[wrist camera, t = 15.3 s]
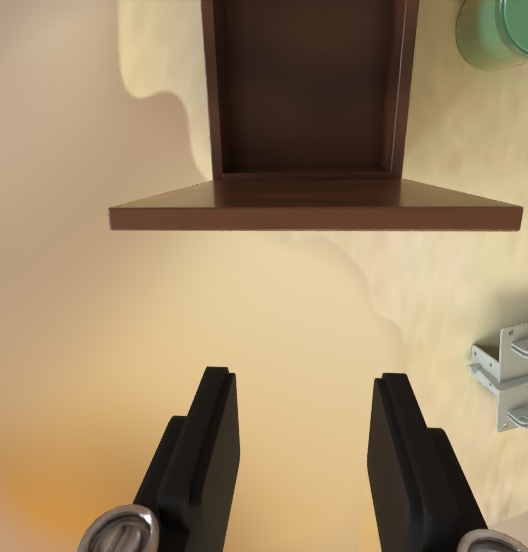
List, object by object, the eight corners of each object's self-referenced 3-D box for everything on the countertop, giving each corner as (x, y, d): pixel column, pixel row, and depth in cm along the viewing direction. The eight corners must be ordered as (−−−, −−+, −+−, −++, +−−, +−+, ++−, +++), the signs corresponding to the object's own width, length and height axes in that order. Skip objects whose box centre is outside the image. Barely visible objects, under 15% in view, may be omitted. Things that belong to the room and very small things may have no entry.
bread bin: (215, -43, 30) (195, -78, 24) (405, -55, 28) (428, -95, 23) (226, 174, 35) (212, 184, 30) (386, 172, 34) (401, 183, 29)
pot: (459, -26, 29) (513, -75, 21) (555, -31, 28) (645, -83, 21) (446, 75, 31) (491, 62, 24) (535, 72, 30) (608, 57, 23)
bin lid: (106, 207, 14) (109, 231, 14) (524, 206, 13) (520, 231, 13) (211, 180, 30) (212, 191, 30) (403, 178, 28) (402, 189, 28)
